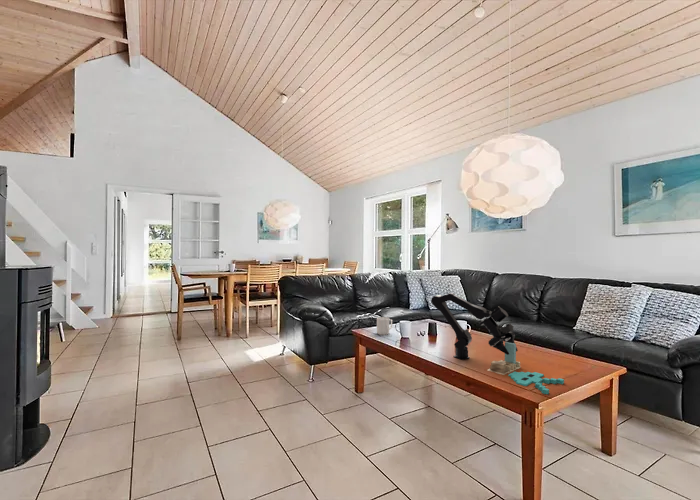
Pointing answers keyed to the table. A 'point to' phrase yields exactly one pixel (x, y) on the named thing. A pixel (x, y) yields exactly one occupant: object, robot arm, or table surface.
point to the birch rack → (509, 367)
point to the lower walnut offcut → (499, 369)
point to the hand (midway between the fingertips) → (512, 352)
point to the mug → (383, 325)
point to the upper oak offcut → (498, 364)
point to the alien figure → (534, 380)
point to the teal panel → (510, 352)
